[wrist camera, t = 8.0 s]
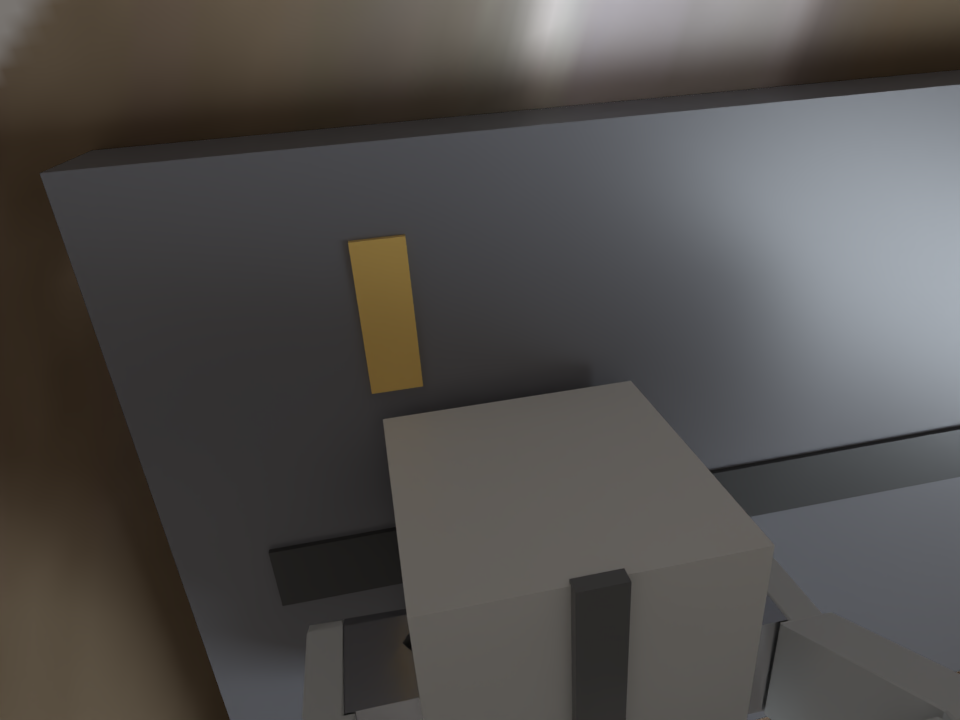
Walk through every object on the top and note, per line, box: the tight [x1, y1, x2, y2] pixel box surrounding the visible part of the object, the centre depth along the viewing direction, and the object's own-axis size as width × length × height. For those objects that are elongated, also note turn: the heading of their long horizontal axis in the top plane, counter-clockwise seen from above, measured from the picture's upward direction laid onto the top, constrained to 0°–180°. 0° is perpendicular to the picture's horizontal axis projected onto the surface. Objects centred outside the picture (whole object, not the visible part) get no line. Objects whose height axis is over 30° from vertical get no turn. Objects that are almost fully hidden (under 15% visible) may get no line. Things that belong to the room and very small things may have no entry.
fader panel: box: [40, 70, 960, 720], centre depth 14 cm, size 20×14×2 cm
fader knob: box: [383, 381, 775, 720], centre depth 10 cm, size 4×6×4 cm, turn 4°
